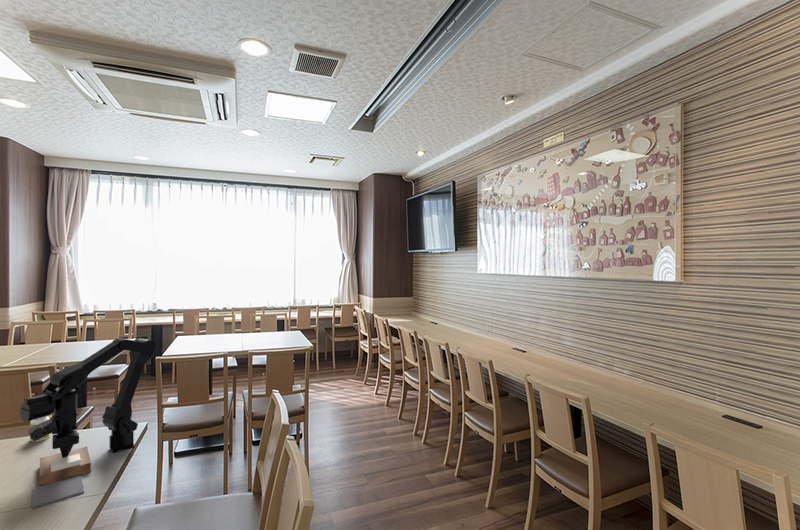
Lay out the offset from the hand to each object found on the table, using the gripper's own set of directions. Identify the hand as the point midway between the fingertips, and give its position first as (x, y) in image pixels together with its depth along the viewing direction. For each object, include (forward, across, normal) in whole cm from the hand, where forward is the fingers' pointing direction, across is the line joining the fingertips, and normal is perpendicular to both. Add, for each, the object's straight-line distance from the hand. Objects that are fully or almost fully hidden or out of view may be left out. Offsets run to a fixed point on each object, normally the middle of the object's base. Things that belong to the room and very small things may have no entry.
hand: (64, 457), depth 124 cm
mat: (+4, +14, -2) cm, 14 cm away
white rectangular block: (+1, +3, 0) cm, 3 cm away
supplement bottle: (+4, -34, -6) cm, 34 cm away
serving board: (+4, 0, 0) cm, 4 cm away
